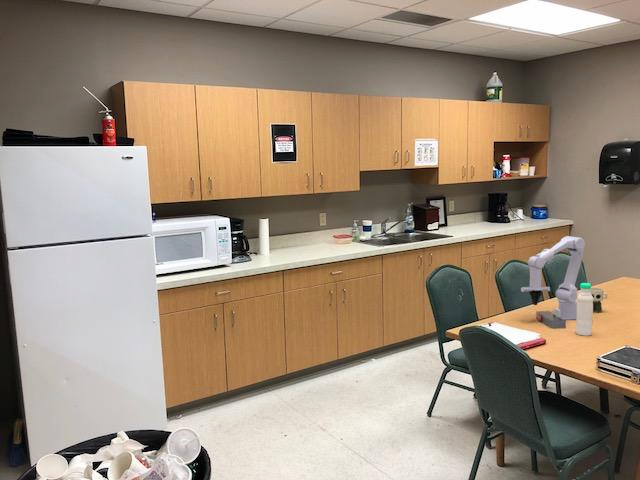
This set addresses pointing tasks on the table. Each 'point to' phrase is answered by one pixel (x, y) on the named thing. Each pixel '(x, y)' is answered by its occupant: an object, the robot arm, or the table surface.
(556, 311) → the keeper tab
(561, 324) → the block
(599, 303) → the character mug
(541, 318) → the pin
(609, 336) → the table surface
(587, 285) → the water bottle
